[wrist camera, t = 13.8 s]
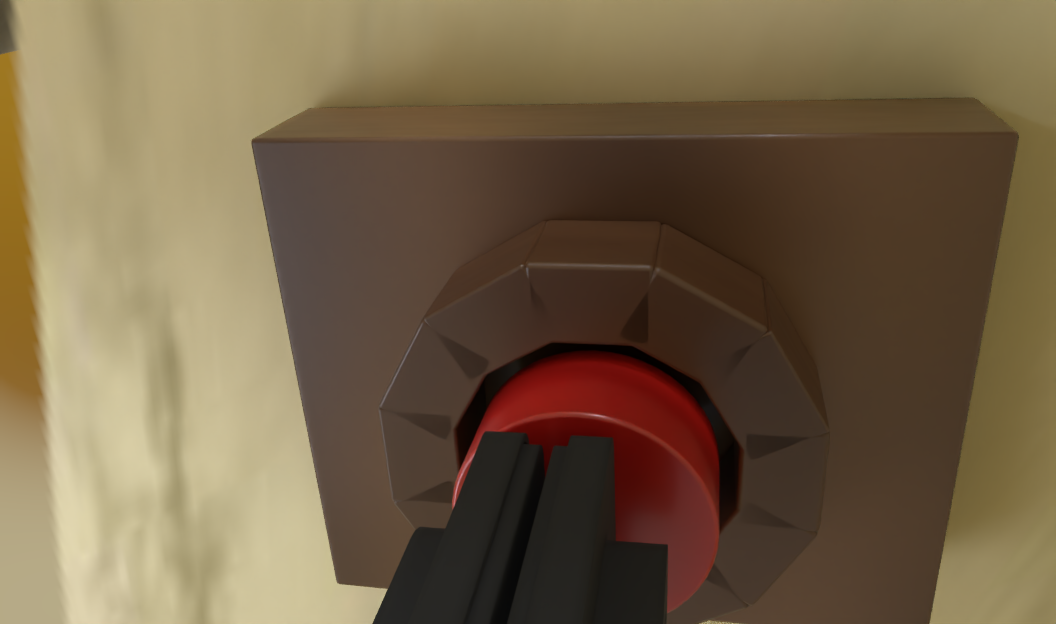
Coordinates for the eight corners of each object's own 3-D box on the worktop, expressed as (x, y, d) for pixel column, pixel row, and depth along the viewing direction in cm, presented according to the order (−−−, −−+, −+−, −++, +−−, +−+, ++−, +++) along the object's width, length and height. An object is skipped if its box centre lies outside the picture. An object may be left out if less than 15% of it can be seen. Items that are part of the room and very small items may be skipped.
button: (490, 538, 14) (462, 617, 13) (471, 343, 13) (438, 406, 11) (715, 557, 14) (715, 644, 12) (724, 353, 12) (724, 421, 11)
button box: (374, 515, 19) (297, 655, 16) (307, 107, 16) (186, 171, 12) (903, 558, 17) (951, 732, 14) (978, 97, 13) (1070, 172, 10)
